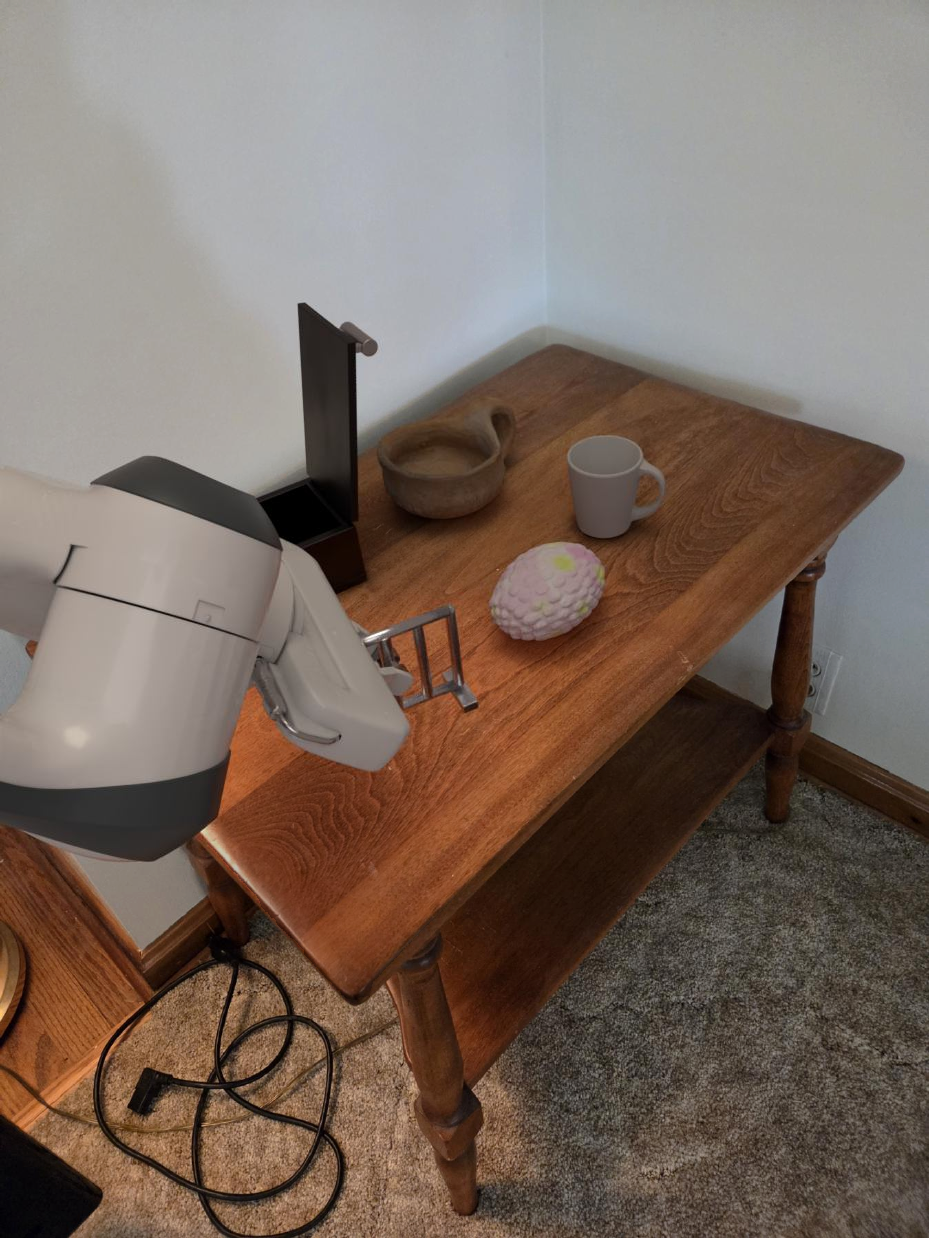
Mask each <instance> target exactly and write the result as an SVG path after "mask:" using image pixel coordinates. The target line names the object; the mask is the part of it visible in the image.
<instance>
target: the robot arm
mask: <svg viewBox="0 0 929 1238" xmlns="http://www.w3.org/2000/svg"><path fill="white" fill-rule="evenodd" d="M256 498H257V497H255V495H253V494H251V493H248V492H245V491H244V490H241V489H238V488H235V487H233V486H231V485H229V484H226V483H223V482H222V481H219V480H217V479H214V478H212V477H210V476H207V475H206V474H204V473H201V472H198V471H196V470H194V469H192V468H189V467H187V466H185V465H182V464H180V463H177V462H175V461H173V460H170V459H168V458H165V457H162V456H157V455H143V456H140V457H137V458H135V459H134V460H131V461H129V462H127V463H125V464H123V465H121V466H119V467H117V468H115V469H112V470H110V471H109V472H106V473H104V474H102V475H100V476H98V477H97V478H95V479H94V480H91V481H90V482H89V486H85V485H82V484H78V483H75V482H71V481H68V480H64V479H62V478H61V479H60V478H57V477H53V476H49V475H46V474H42V473H38V472H33V471H30V470H26V469H22V468H17V467H12V466H8V465H4V464H0V630H1V631H4V632H7V633H10V634H13V635H16V636H18V637H22V638H24V639H26V640H30V641H32V642H36V643H37V645H36V648H35V651H34V654H33V657H32V660H31V664H30V666H29V670H28V672H27V675H26V677H25V678H26V679H25V681H24V684H23V686H22V689H21V691H20V693H19V694H18V696H17V697H16V699H15V700H14V702H13V703H12V704H11V705H10V706H9V707H8V708H7V709H6V710H4V711H3V712H2V713H0V824H1V825H4V826H7V827H10V828H14V829H16V830H19V831H21V832H23V833H25V834H27V835H29V836H31V837H34V838H35V839H37V840H39V841H41V842H44V843H46V844H48V845H51V846H52V847H55V848H58V849H59V850H63V851H66V852H69V853H70V854H73V855H77V856H81V857H84V858H89V859H93V860H99V861H104V862H111V863H138V862H144V863H147V862H148V863H150V862H151V863H153V862H156V861H158V860H160V859H162V858H163V857H165V856H167V855H169V854H171V853H172V852H173V851H175V850H177V849H179V848H180V847H182V846H184V845H185V844H186V843H188V842H189V841H190V840H192V839H193V838H195V837H196V836H198V834H200V833H201V832H203V830H205V829H206V828H207V827H208V826H209V825H211V824H212V823H213V822H214V821H215V820H216V819H218V817H219V814H220V809H221V804H222V799H223V794H224V789H225V785H226V779H227V774H228V771H229V766H230V760H231V756H232V750H231V745H232V743H233V738H234V735H235V731H236V729H237V725H238V722H239V718H240V716H241V711H242V708H243V705H244V701H245V698H246V695H247V692H248V691H249V690H251V689H252V688H254V687H255V689H256V691H257V692H258V694H259V695H260V697H261V704H262V707H263V710H264V712H265V714H266V715H267V716H268V718H269V719H270V720H271V721H274V722H275V725H276V727H277V729H278V730H279V732H280V734H282V736H283V737H284V738H285V739H286V740H287V741H289V742H290V743H291V744H293V745H294V746H296V747H297V748H299V749H301V750H303V751H305V752H307V753H310V754H312V755H315V756H318V757H321V758H323V759H326V760H329V761H333V762H335V763H336V762H338V763H341V765H344V766H348V767H352V768H354V769H358V770H360V771H361V770H362V771H365V772H370V773H371V772H372V773H373V772H378V771H380V770H382V769H383V768H384V767H385V766H387V765H388V764H389V763H390V762H391V761H392V759H393V758H394V757H395V756H396V755H397V754H398V752H399V751H400V750H401V748H402V747H403V745H404V743H405V742H406V740H408V738H409V736H410V734H411V732H412V727H411V723H410V721H409V720H408V718H407V716H406V715H405V713H404V711H402V710H401V708H400V706H399V704H398V703H397V701H396V699H395V697H394V696H393V695H396V696H401V695H402V696H403V695H405V694H406V693H407V691H408V690H409V688H410V687H411V686H412V685H413V684H414V676H412V674H411V672H410V671H409V670H408V669H409V668H407V667H406V665H405V664H403V663H400V662H401V657H400V655H399V652H398V650H396V647H395V646H394V645H393V644H392V646H393V651H394V656H395V661H396V662H395V661H392V660H389V661H388V662H387V663H386V665H385V666H384V668H382V664H381V660H380V655H379V650H378V645H377V644H375V645H372V646H369V647H367V648H366V647H365V645H364V643H363V641H362V640H361V638H360V637H362V636H365V635H368V634H370V633H371V632H370V631H368V630H367V629H365V628H364V627H363V626H362V625H360V624H359V623H357V622H356V621H355V620H351V619H350V617H349V614H348V613H347V612H346V610H345V608H344V607H343V605H342V602H341V601H340V600H339V597H338V596H337V594H335V592H334V591H333V589H332V587H331V585H330V584H329V582H328V580H327V578H326V577H325V575H324V573H323V571H322V570H321V568H320V566H319V564H318V562H317V561H316V560H315V559H314V558H313V557H312V556H310V555H309V554H308V553H307V552H305V551H304V550H303V549H301V548H300V547H298V546H296V545H294V544H292V543H290V542H288V541H286V540H284V539H282V538H279V536H278V534H277V532H276V529H275V527H274V526H273V524H272V522H271V520H270V519H269V517H268V515H267V514H266V512H265V511H264V509H263V508H262V506H261V505H260V504H259V502H258V501H257V499H256Z"/></svg>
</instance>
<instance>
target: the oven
mask: <svg viewBox="0 0 929 1238" xmlns="http://www.w3.org/2000/svg"><path fill="white" fill-rule="evenodd" d="M255 498H256V499H257V501H258V502H259V504H260V505H261V506H262V508H263V509H264V511H265V512H266V514H267V515H268V517H269V519H270V520H271V522H272V524H273V526H274V527H275V529H276V532H277V534H278V536H279V538H282V539H284V540H286V541H288V542H290V543H292V544H294V545H296V546H298V547H300V548H301V549H303V550H304V551H305V552H307V553H308V554H309V555H310V556H312V557H313V558H314V559H315V560H316V561H317V562H318V564H319V566H320V568H321V570H322V571H323V573H324V575H325V577H326V578H327V580H328V582H329V584H330V585H331V587H332V589H333V591H334V592H335V594H336V595H338V594H340V593H342V592H345V591H346V590H349V589H351V588H353V587H355V586H358V585H360V584H362V583H365V582H367V581H368V576H367V573H366V567H365V562H364V559H363V553H362V549H361V544H360V539H359V535H358V529H357V526H356V525H355V523H354V522H352V523H351V522H350V520H349V519H348V518H347V517H346V516H345V515H344V514H343V513H342V512H341V511H340V509H339V508H338V507H337V506H336V505H335V504H334V503H333V502H332V501H331V500H330V498H329V497H328V496H327V495H326V494H325V493H324V492H323V491H322V490H321V489H320V487H319V486H318V485H317V484H316V483H315V482H314V481H313V480H312V479H311V478H310V476H308V477H305V478H303V479H301V480H297V481H296V482H293V483H291V484H287V485H286V486H283V487H281V488H277V489H276V490H273V491H270V492H268V493H266V494H262V495H260V496H257V497H255Z"/></svg>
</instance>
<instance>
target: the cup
mask: <svg viewBox="0 0 929 1238" xmlns="http://www.w3.org/2000/svg"><path fill="white" fill-rule="evenodd" d="M566 463H567V470H568V479H569V486H570V492H571V497H572V503H573V509H574V513H575V521H576V525H577V527H578V529H579V530H580V531H581V532H582V533H583V534H585V535H587V536H590V537H593V538H597V539H611V538H614V537H618V536H620V535H622V534H624V533H626V532H627V531H628V530H629V528H630V527H631V524H632V522H634V521H637V520H638V521H639V520H641V519H644V518H647V517H650V516H651V515H652V514H654V513H655V512H656V511H657V510H658V509H659V508H660V506H661V505H662V503H663V501H664V497H665V496H666V495H665V494H666V488H667V485H666V479H665V476H664V474H663V472H662V471H661V470H660V469H658V467H656V466H654V465H653V464H651V463H649V462H648V461H647V460H646V459H645V458H644V453H643V450H642V448H641V447H640V446H639V445H638V443H636V442H634V441H633V440H631V439H629V438H626V437H623V436H618V435H607V434H603V435H594V436H589V437H585V438H583V439H581V440H578V441H577V442H576V443H574V444H573V445H572V446H571V447H570V448H569V450H568V451H567V454H566ZM642 476H650V477H652V478H654V479H655V480H656V481H657V484H658V486H659V496H658V498H657V499H656V501H654V502H652V503H651V504H649V505H646V506H638V505H636V502H637V501H636V500H637V496H638V491H639V485H640V479H641V477H642Z"/></svg>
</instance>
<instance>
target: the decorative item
mask: <svg viewBox="0 0 929 1238" xmlns="http://www.w3.org/2000/svg"><path fill="white" fill-rule="evenodd" d="M605 579H606V569H605V567H604V565H602V562H601V560H600V559H599V557H597V556H596V554H595V552H594V551H592V550H591V549H589V548H588V549H587V547H586V546H585V545H584V544H583V545H582V544H581V543H579V542H578V543H573V542H571V541H570V542H566V541H555V542H548V543H543V544H540V545H538V546H535V547H532V548H530V549H528V550H527V551H526V552H524V553H521V554H519V555H517V557H516V558H515V560H514V561H513V562H511V563H510V564H508V565H507V566H506V567H505V570H504V572H503V573H502V574H501V576H500V577H499V579H498V582H497V583H496V585H495V587H494V588H493V592H492V595H491V597H490V600H489V601H488V608H490V610H489V612H490V616H491V618H492V624H495V625H498V629H499V630H500V631H503V632H504V633H505V634H507V635H510V637H511V638H512V639H513V640H520V639H521V640H522V641H534V640H535V641H537V642H541V641H546V640H549V639H552V638H556V637H559V636H560V635H563V634H566V633H568V632H570V631H571V630H573V628H575V627H577V626H579V624H580V623H582V622H583V620H584V619H586V618H588V617H589V616H590V615H591V614H592V611H593V610H594V609H595V608H596V607H597V606H598V604H599V602H600V598H601V597H602V595H603V592H604V590H605V588H606V580H605Z"/></svg>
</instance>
